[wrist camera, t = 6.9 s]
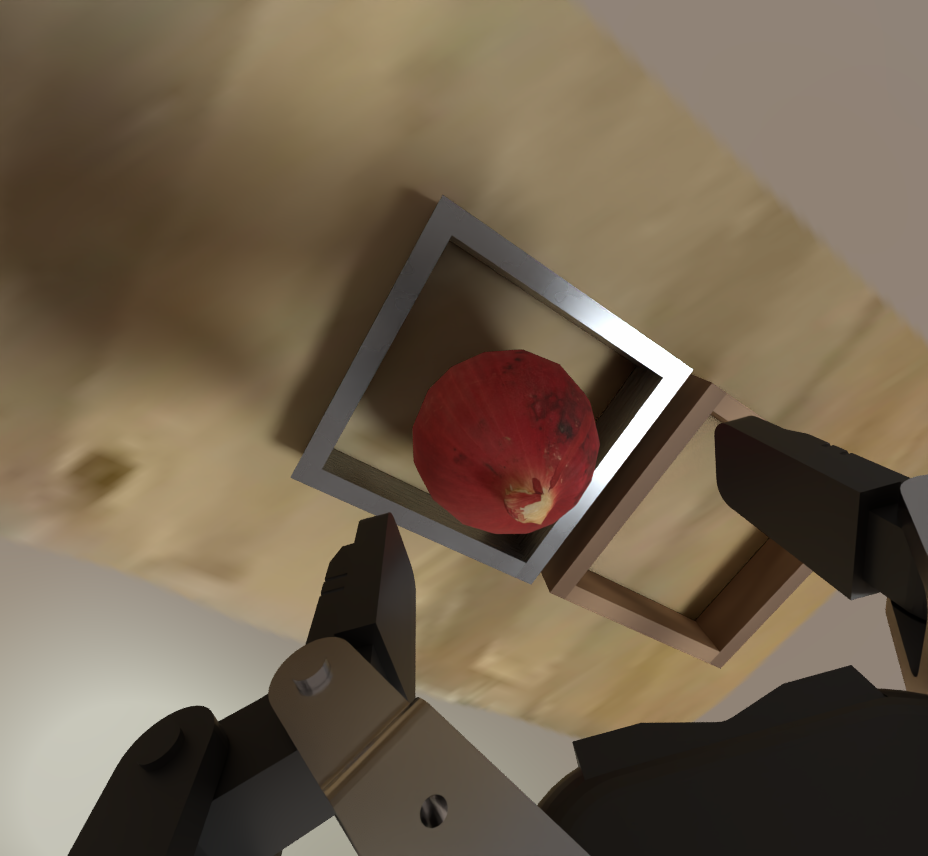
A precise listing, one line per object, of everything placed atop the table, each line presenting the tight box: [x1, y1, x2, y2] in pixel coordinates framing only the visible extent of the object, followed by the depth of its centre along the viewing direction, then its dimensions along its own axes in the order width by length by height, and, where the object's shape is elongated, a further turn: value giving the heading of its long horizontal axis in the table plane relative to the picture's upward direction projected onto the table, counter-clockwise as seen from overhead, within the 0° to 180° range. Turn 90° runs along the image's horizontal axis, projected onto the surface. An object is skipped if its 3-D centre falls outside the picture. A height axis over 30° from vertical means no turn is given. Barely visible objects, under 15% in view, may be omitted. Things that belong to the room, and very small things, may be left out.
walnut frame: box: [541, 374, 813, 669], centre depth 20 cm, size 11×11×2 cm
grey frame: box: [291, 195, 693, 584], centre depth 17 cm, size 11×11×2 cm
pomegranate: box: [412, 350, 600, 534], centre depth 14 cm, size 6×6×8 cm
